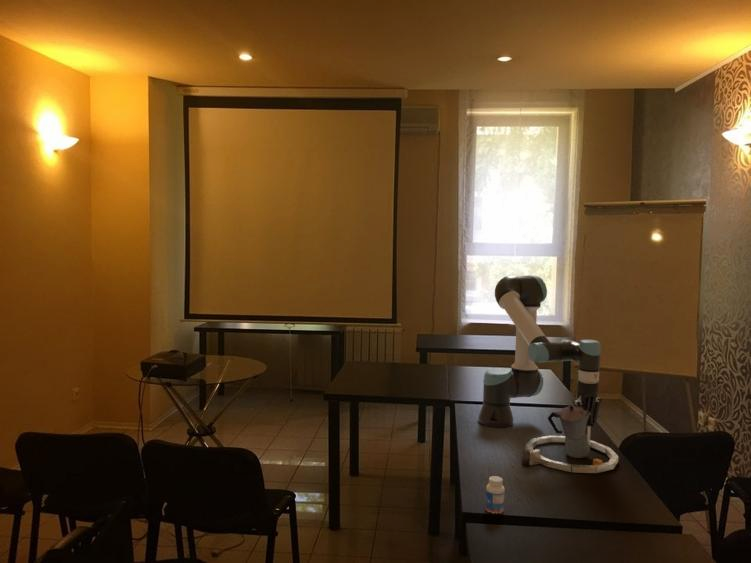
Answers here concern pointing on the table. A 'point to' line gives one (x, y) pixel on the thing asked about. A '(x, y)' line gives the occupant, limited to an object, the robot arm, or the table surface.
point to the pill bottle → (495, 495)
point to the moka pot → (573, 430)
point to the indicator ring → (535, 457)
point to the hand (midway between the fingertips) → (585, 442)
